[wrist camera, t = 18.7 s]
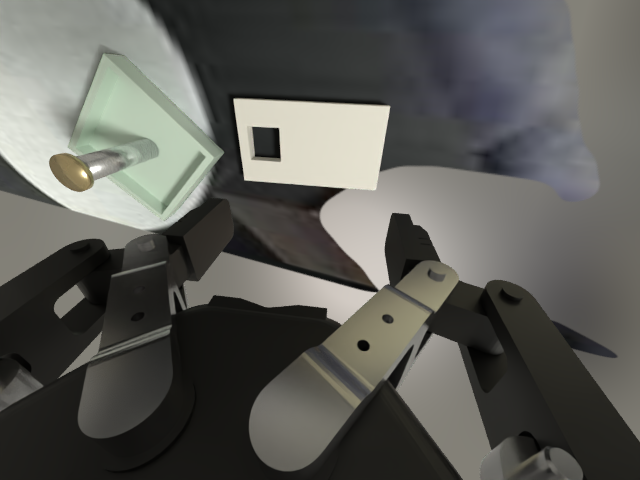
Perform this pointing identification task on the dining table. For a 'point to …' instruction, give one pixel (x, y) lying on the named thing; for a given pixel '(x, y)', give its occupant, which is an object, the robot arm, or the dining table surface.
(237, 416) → the robot arm
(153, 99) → the tray
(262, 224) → the dining table surface
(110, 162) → the pin
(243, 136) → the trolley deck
